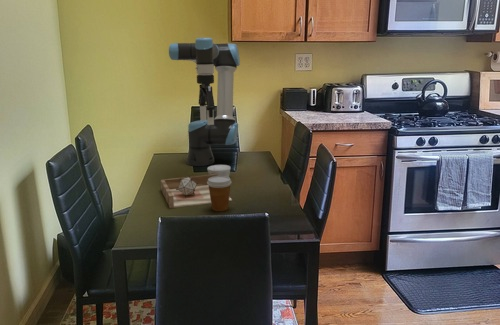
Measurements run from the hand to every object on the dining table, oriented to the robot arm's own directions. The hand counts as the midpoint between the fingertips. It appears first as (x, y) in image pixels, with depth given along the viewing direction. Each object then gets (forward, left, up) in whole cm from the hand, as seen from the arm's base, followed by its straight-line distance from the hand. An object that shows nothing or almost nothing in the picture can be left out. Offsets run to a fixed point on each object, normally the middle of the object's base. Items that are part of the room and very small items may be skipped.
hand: (206, 122), depth 203 cm
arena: (+15, -10, -29) cm, 34 cm away
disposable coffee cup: (+34, -4, -29) cm, 45 cm away
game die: (+16, -13, -28) cm, 35 cm away
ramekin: (-8, +7, -29) cm, 31 cm away
